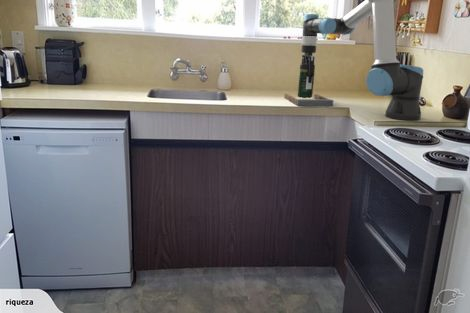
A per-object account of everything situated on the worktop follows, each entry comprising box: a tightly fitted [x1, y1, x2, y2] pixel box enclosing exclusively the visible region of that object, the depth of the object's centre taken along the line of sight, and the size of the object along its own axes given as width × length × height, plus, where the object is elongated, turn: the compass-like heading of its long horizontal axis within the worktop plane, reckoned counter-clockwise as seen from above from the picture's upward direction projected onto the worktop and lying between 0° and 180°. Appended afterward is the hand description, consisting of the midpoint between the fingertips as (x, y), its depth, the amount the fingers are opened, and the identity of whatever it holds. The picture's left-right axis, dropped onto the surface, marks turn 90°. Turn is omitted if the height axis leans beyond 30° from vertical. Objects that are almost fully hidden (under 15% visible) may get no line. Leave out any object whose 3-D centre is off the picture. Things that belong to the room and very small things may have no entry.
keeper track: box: [283, 92, 328, 106], centre depth 228 cm, size 24×18×2 cm
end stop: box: [295, 98, 334, 107], centre depth 216 cm, size 3×18×3 cm, turn 99°
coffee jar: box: [297, 63, 316, 99], centre depth 229 cm, size 10×8×19 cm
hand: (305, 87), depth 230 cm, fingers closed on coffee jar, 9 cm apart
